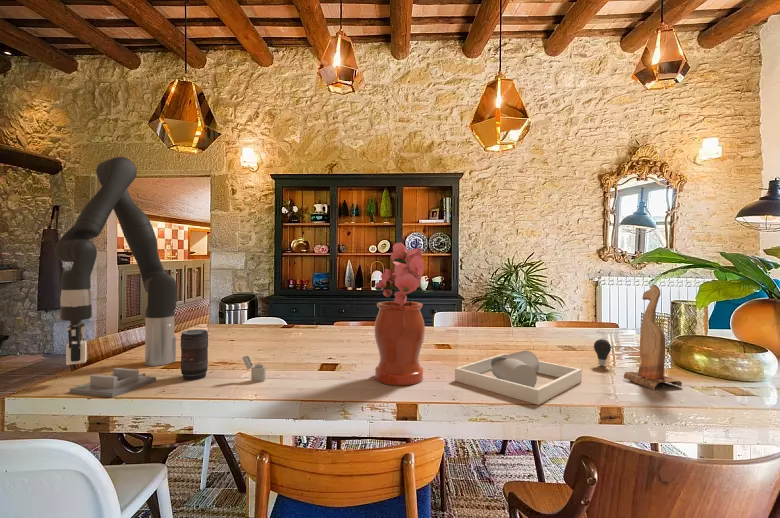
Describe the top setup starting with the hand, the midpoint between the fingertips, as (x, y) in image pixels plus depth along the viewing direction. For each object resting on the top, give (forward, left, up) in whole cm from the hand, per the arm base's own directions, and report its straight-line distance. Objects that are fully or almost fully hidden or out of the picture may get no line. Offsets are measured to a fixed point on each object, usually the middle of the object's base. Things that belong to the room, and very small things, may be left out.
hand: (76, 358), depth 120 cm
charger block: (0, 0, -1) cm, 1 cm away
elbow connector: (-105, +91, -8) cm, 139 cm away
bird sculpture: (-135, +121, -8) cm, 181 cm away
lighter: (-42, +34, -8) cm, 54 cm away
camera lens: (-29, +18, -8) cm, 35 cm away
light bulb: (-145, +103, -8) cm, 178 cm away
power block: (-9, +11, -8) cm, 16 cm away
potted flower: (-80, +63, -8) cm, 102 cm away
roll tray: (-105, +91, -8) cm, 139 cm away
